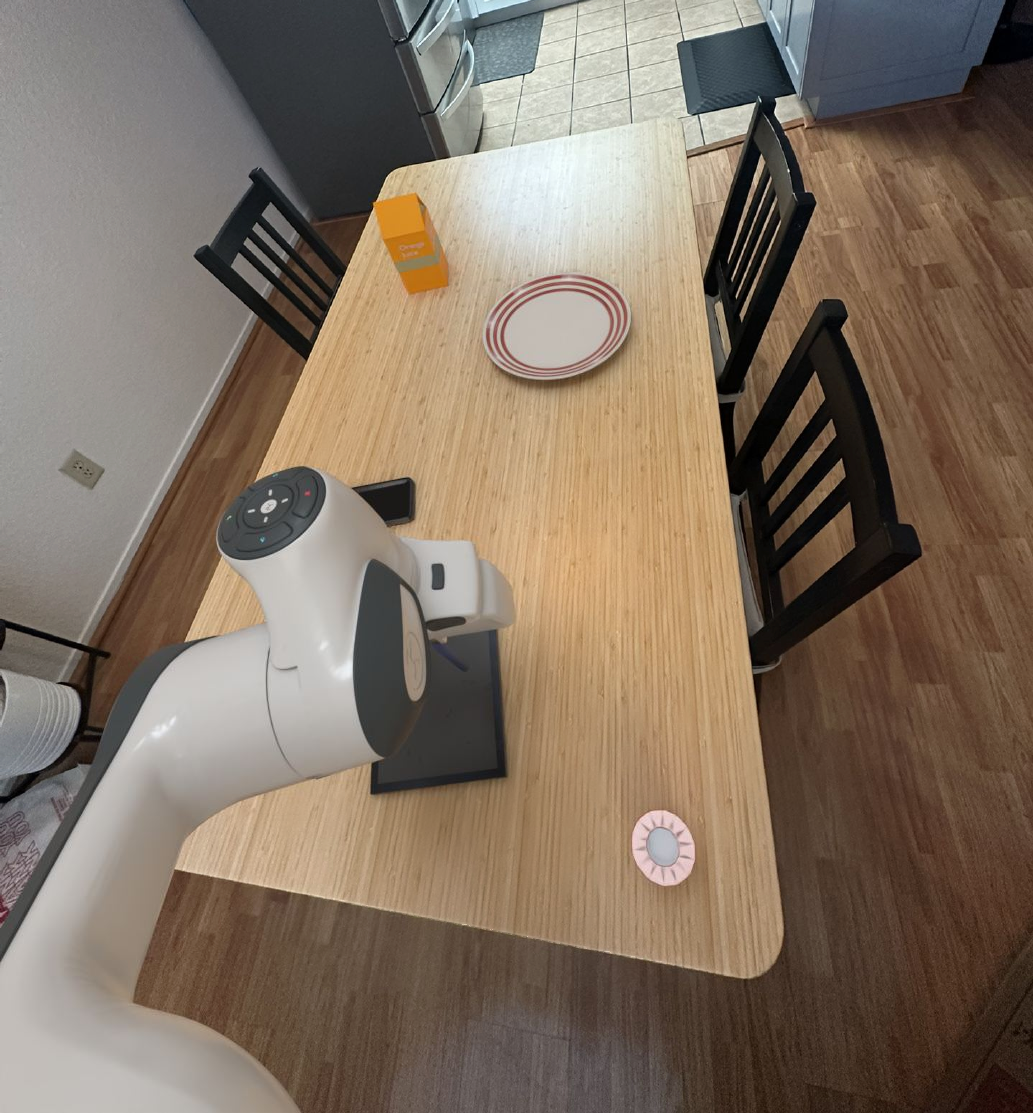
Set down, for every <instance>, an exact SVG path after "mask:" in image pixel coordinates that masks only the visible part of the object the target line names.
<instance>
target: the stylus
mask: <svg viewBox="0 0 1033 1113" xmlns="http://www.w3.org/2000/svg"><path fill="white" fill-rule="evenodd" d="M429 644H430V646H431V647H432V648H433V649H435V650H436V651H437V652H438V653H440V654H441V655H442V656H444V657H445V658H446V659H447V660H449V661H450V662H451V663H452V664H454V665H455V666H456V667H458V668H459V669H460V670H461V671H463V672H466V671H468V670H469V664H468V663H467V662H466V661H465V660H464V659H462V658H461V657H460V656H459V655H458V654H457V653H455V652H454V651H453V650H452V649H451V648H449V647H448V646H447V645H446V644H445V643H442V644H435V645H431V643H429Z"/></svg>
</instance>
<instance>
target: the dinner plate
mask: <svg viewBox="0 0 1033 1113" xmlns="http://www.w3.org/2000/svg"><path fill="white" fill-rule="evenodd" d="M631 321H632V313H631V307H630V303H629V301H628V300H627V297H626V296H625V294H624V293H623V292H622V291H621V289H619V288H618V287H617V286H616V285H614V284H613V283H611V282H610V281H608V280H606V279H605V278H602V277H600V276H597V275H594V274H589V273H584V272H574V271H563V272H553V273H548V274H544V275H540V276H537V277H534V278H531V279H528V280H526V281H524V282H522V283H520V284H519V285H516V286H515V287H513V288H511V289H510V290H509V291H508V292H506V293H505V294H503V295H502V296H501V297H500V298H499V299H498V300H497V301H496V303H494V305H493V306H492V307H491V309H490V310H489V312H488V314H487V316H486V318H485V320H484V323H483V327H482V333H481V334H482V343H483V347H484V350H485V352H486V354H487V356H488V357H489V358H490V360H491V361H492V362H493V363H494V364H495V365H496V366H497V367H498V368H500V369H501V370H503V371H505V372H507V373H508V374H510V375H514V376H516V377H519V378H523V379H528V380H538V381H552V380H562V379H567V378H571V377H574V376H578V375H581V374H583V373H586V372H588V371H590V370H592V369H594V368H596V367H597V366H599V365H601V364H603V363H604V362H605V361H607V360H608V359H609V358H610V357H611V356H612V355H613V354H614V353H615V352H617V350H618V349H619V348H620V347H621V346H622V344H623V343H624V341H625V339H626V338H627V335H628V333H629V330H630V327H631Z"/></svg>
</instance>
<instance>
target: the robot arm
mask: <svg viewBox="0 0 1033 1113" xmlns="http://www.w3.org/2000/svg"><path fill="white" fill-rule="evenodd" d="M351 488H352V487H350V486H349V485H348V484H347V483H345V482H344V481H343V480H341V479H340V478H338V477H336V476H335V475H334V474H331V473H329V472H328V471H325V470H323V469H320V468H317V467H312V466H307V465H306V466H305V465H298V466H294V467H293V466H292V467H289V468H285V469H283V470H278V471H276V472H273V473H270V474H268V475H266V476H263V477H261V478H260V479H258V480H256V481H254V482H253V483H251V484H250V485H248V486H247V487H245V489H243V490H242V491H241V492H240V493H238V495H237V496H236V497H235V498H234V499H233V500H232V501H231V502H230V504H229V505H228V506H227V507H226V509H225V511H224V512H223V514H222V515H221V518H220V520H219V522H218V526H217V529H216V534H215V538H216V540H215V541H216V546H217V549H218V551H219V553H220V555H221V556H222V558H223V559H224V561H225V562H226V564H228V566H229V567H230V568H231V569H232V570H233V571H234V572H235V573H236V574H237V575H238V576H239V577H240V578H241V579H243V580H244V581H245V582H246V584H248V585H249V586H250V587H251V589H252V591H253V592H254V595H255V597H256V599H257V601H258V603H259V606H260V609H261V611H262V614H263V617H264V619H265V621H263V622H259V623H257V624H253V625H250V626H248V627H243V628H240V629H236V630H233V631H230V632H227V633H223V634H220V635H219V634H218V635H211V636H206V637H201V638H197V639H193V640H187V641H184V642H179V643H175V644H170V645H166V646H163V647H161V648H159V649H157V650H156V651H153V652H152V653H151V654H149V655H148V656H147V657H146V658H145V659H143V660H142V661H141V662H140V663H139V664H138V666H136V668H135V669H134V670H133V671H132V672H131V674H130V675H129V677H128V678H127V679H126V681H125V683H124V684H123V686H122V687H121V689H120V691H119V693H118V695H117V697H116V698H115V701H114V703H113V704H112V707H111V709H110V712H109V715H108V716H107V720H106V723H105V726H104V729H103V732H102V735H101V738H100V742H99V744H98V747H97V749H96V753H95V756H94V758H93V760H92V763H91V764H90V766H89V769H88V770H87V774H86V776H85V778H84V780H83V782H82V784H81V786H80V788H79V789H78V792H77V793H76V795H75V797H74V798H73V800H72V802H71V804H70V806H69V808H68V809H67V811H66V813H65V814H64V816H63V818H62V819H61V822H60V824H58V827H57V829H56V830H55V832H54V833H53V835H52V837H51V839H50V841H49V842H48V844H47V846H46V848H45V850H44V851H43V853H42V855H41V856H40V858H39V860H38V862H37V864H36V866H34V869H33V870H32V872H31V874H30V875H29V877H28V879H27V881H26V882H25V884H24V886H23V888H22V890H21V892H19V895H18V897H17V898H16V900H15V902H14V904H13V906H12V907H11V909H10V911H9V913H8V914H7V916H6V917H5V920H4V921H3V923H2V925H1V926H0V1113H302V1111H301V1109H300V1108H299V1106H298V1105H297V1103H296V1102H295V1100H294V1098H292V1096H291V1095H290V1093H289V1092H288V1091H287V1089H286V1088H285V1087H284V1085H283V1084H282V1083H281V1082H280V1081H279V1080H278V1079H277V1078H276V1077H275V1076H274V1074H272V1072H270V1071H269V1069H267V1067H265V1066H264V1065H263V1063H262V1062H261V1061H259V1059H257V1058H256V1057H255V1056H253V1055H252V1054H251V1053H249V1052H248V1051H247V1050H245V1048H243V1047H242V1046H240V1045H239V1044H237V1043H235V1042H234V1041H232V1040H231V1039H230V1038H229V1037H227V1036H225V1035H223V1034H222V1033H221V1032H218V1031H217V1030H215V1029H213V1028H211V1027H210V1026H207V1025H205V1024H204V1023H201V1022H199V1021H196V1020H194V1019H191V1018H188V1017H185V1016H182V1015H178V1014H174V1013H170V1012H167V1011H163V1010H159V1009H155V1008H151V1007H148V1006H144V1005H141V1004H138V1003H135V1001H134V1000H135V994H136V988H137V983H138V980H139V976H140V973H141V971H142V968H143V965H144V961H145V959H146V957H147V953H148V950H149V946H150V944H151V941H152V938H153V935H154V932H155V929H156V927H157V923H158V920H159V917H160V914H161V911H162V908H163V905H164V902H165V899H166V897H167V894H168V890H169V887H170V885H171V882H172V879H173V876H174V873H175V870H176V867H177V864H178V861H179V858H180V855H181V852H182V849H183V847H184V845H185V843H186V841H187V840H188V838H189V837H190V836H191V835H192V834H193V832H194V831H196V830H197V828H199V827H201V825H203V824H204V823H205V822H206V821H208V820H210V819H211V818H213V817H215V816H216V815H217V814H219V813H220V812H221V811H223V810H225V809H228V808H229V807H231V806H234V805H236V804H237V803H240V802H242V801H246V800H249V799H252V798H255V797H258V796H261V795H266V794H268V793H272V792H275V791H278V790H282V789H285V788H289V787H291V786H295V785H299V784H301V783H305V782H309V781H311V780H319V779H320V780H321V779H324V778H326V777H329V776H333V775H336V774H339V773H340V774H341V773H343V772H347V771H350V770H353V769H356V768H359V767H362V766H365V765H369V764H371V763H372V762H375V761H378V760H381V759H384V758H390V757H392V756H393V755H395V754H396V753H397V751H398V750H399V749H400V748H401V747H402V745H403V744H404V743H405V741H406V740H407V738H408V737H409V735H410V733H411V732H412V730H413V728H414V726H415V724H416V722H417V720H418V717H419V715H420V713H421V710H422V708H423V705H424V703H425V700H426V697H427V695H428V692H429V688H430V682H431V655H430V644H429V643H431V645H435V644H442V643H446V642H447V637H450V636H457V635H463V634H469V633H475V632H482V631H488V630H494V629H497V630H501V629H506V628H509V627H511V626H512V625H514V623H515V622H516V609H515V606H516V605H515V598H514V592H513V586H512V585H511V583H510V582H509V580H508V578H507V577H506V576H505V575H504V573H503V572H502V571H501V570H500V569H499V568H498V567H497V565H495V564H493V562H491V561H489V560H487V559H485V558H482V557H481V558H480V557H479V554H478V549H477V546H476V544H475V543H474V542H473V541H471V540H469V539H446V540H445V539H443V540H441V539H435V540H434V539H423V538H416V537H409V536H403V535H402V536H401V535H400V536H399V535H397V534H395V533H394V532H392V531H391V530H389V528H388V526H386V524H385V523H384V521H383V520H382V518H381V517H380V516H379V515H378V514H377V513H376V512H375V510H374V509H373V508H372V507H371V506H370V505H369V504H368V503H367V502H366V501H365V500H364V499H363V498H362V497H361V496H359V495H358V494H357V493H356V492H355V491H354V490H353V489H351Z"/></svg>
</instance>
